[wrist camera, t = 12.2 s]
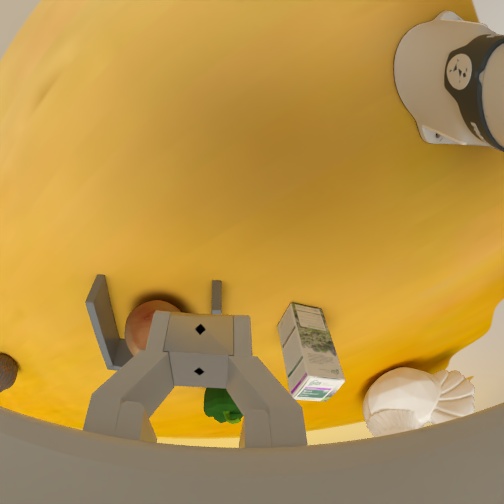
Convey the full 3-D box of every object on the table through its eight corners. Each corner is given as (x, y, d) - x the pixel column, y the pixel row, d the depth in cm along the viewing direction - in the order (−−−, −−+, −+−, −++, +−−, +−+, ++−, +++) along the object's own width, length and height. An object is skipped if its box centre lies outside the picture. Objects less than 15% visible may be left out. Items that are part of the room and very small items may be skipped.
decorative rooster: (359, 405, 73) (384, 491, 52) (351, 378, 64) (382, 480, 44) (446, 368, 69) (483, 446, 49) (452, 334, 61) (500, 424, 40)
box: (220, 280, 46) (221, 310, 41) (217, 348, 55) (217, 376, 50) (97, 274, 44) (85, 302, 39) (114, 342, 52) (107, 369, 47)
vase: (18, 356, 55) (5, 387, 47) (22, 372, 58) (11, 402, 51) (-6, 346, 53) (-20, 376, 45) (-1, 363, 56) (-13, 391, 49)
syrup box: (275, 326, 52) (289, 401, 40) (290, 300, 49) (309, 378, 37) (306, 331, 54) (325, 403, 42) (322, 306, 51) (347, 381, 39)
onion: (201, 326, 51) (199, 377, 43) (146, 335, 52) (137, 384, 43) (180, 281, 46) (173, 333, 38) (120, 294, 46) (104, 344, 38)
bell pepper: (208, 393, 63) (208, 435, 54) (200, 371, 58) (199, 416, 50) (248, 389, 63) (252, 431, 55) (244, 367, 58) (248, 413, 50)
